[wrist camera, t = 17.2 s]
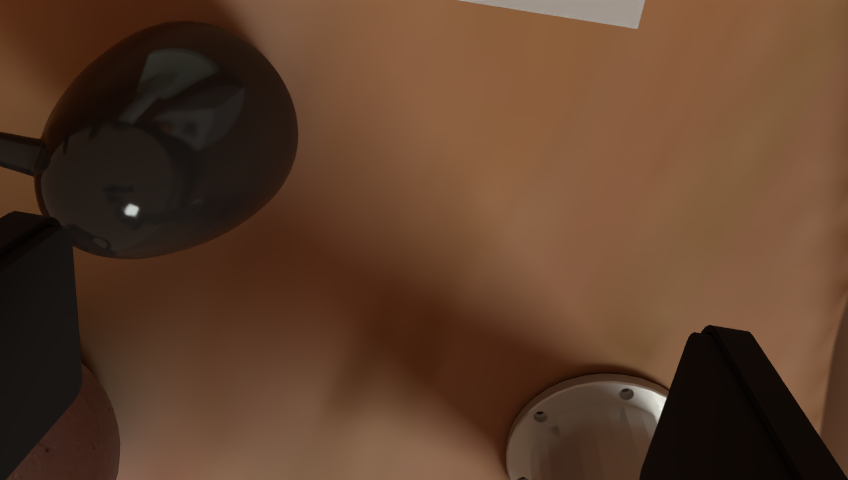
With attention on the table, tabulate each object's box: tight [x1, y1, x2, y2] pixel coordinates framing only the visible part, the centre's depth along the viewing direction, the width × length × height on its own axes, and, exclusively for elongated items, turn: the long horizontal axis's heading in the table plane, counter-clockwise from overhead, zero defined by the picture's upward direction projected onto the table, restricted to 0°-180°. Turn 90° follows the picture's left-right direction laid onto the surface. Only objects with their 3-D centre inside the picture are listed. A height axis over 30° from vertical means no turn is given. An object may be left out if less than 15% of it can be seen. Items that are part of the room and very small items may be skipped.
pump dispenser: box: [0, 21, 298, 259], centre depth 31 cm, size 10×10×15 cm
